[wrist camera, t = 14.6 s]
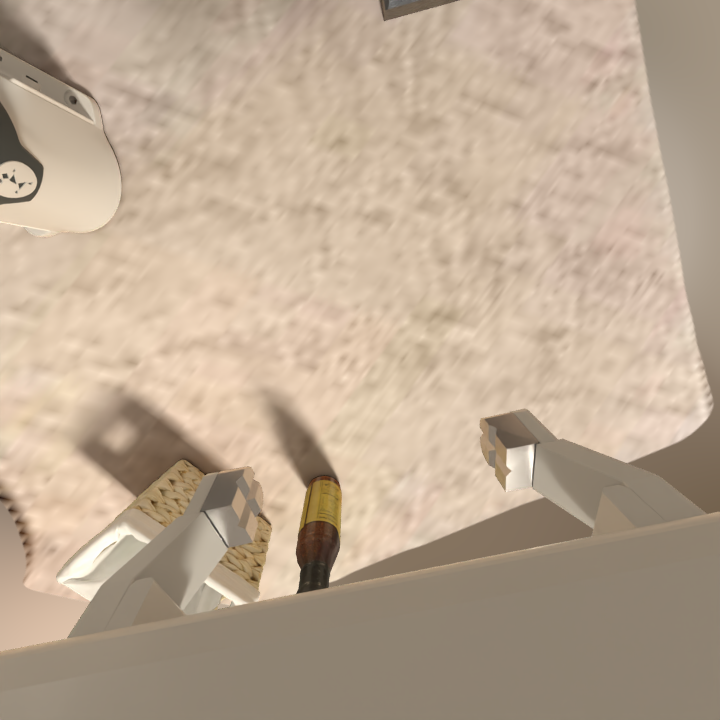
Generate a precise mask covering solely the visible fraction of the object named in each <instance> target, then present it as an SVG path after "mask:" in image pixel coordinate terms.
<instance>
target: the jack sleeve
mask: <svg viewBox="0 0 720 720" xmlns="http://www.w3.org/2000/svg"><path fill="white" fill-rule="evenodd" d="M455 1H458V0H381V3H382V10H383V17H384V21H386V20H389V19H393V18H397V17H400V16H404V15H408V14H411V13H415V12H418V11H422V10H426V9H429V8H433V7H437V6H440V5H444V4H447V3H451V2H455Z"/></svg>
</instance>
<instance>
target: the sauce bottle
mask: <svg viewBox="0 0 720 720" xmlns="http://www.w3.org/2000/svg"><path fill="white" fill-rule="evenodd" d="M341 500H342V493H341V489H340V485H339V483H338V482H337V481H336V480H335V479H334V478H332V477H329V476H325V475H324V476H320V477H317V478H315V479H313V480H312V481H311V482H310V484H309V487H308V489H307V492H306V496H305V502H304V507H303V512H302V518H301V523H300V528H299V533H298V542H297V547H296V556H297V563H298V564H299V566H300V568H301V572H300V582H299V589H298V591H297V593H296V594H299V593H304V592H309V591H314V590H320V589H325V588H328V587H329V577H330V571H331V569H332V567H333V564H334V562H335V560H336V557H337V555H338V552H339V549H340V528H341Z"/></svg>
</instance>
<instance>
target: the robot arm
mask: <svg viewBox="0 0 720 720" xmlns="http://www.w3.org/2000/svg"><path fill="white" fill-rule="evenodd" d="M76 99H77V103H76V104H75V100H76ZM121 189H122V184H121V174H120V169H119V166H118V162H117V159H116V157H115V154H114V152H113V150H112V148H111V146H110V144H109V142H108V140H107V138H106V136H105V134H104V131H103V124H102V118H101V113H100V109H99V107H98V104H97V103H96V101H95V100H94V99H93V98H91V97H90V96H88V95H86V94H84V93H82V92H80V91H78V90H77V89H75V88H73V87H71V86H69V85H67V84H66V83H64V82H62V81H60V80H58V79H56V78H54V77H53V76H51V75H49V74H47V73H45V72H43V71H42V70H40V69H38V68H36V67H34V66H32V65H30V64H29V63H27V62H25V61H23V60H21V59H19V58H17V57H16V56H14V55H12V54H10V53H8V52H6V51H5V50H3V49H1V48H0V222H1V223H6V224H12V225H17V226H22V227H23V228H24V229H25V230H26V231H28V232H29V233H30V234H32V235H34V236H38V237H43V238H46V237H50V236H53V235H55V234H58V233H60V232H73V233H85V232H90V231H94V230H97V229H99V228H101V227H102V226H104V225H105V224H106V223H107V222H108V221H109V220H110V219H111V218H112V217H113V215H114V214H115V212H116V210H117V208H118V205H119V202H120V198H121ZM480 429H481V430H482V432H483V434H482V436H481V437H480V444H481V449H482V453H483V455H484V457H485V459H486V461H487V463H488V464H489V465H490V466H492V467H493V468H495V476H496V477H497V479H498V481H499V482H500V484H501V485H502V487H503V488H504V490H505V492H508V491H514V490H520V489H526V488H532V487H533V489H534V490H535V491H537V492H538V493H540V494H541V495H543V496H544V497H546V498H547V499H549V500H550V501H552V502H554V503H555V504H557V505H558V506H560V507H561V508H563V509H564V510H566V511H567V512H569V513H570V514H572V515H573V516H575V517H576V518H578V519H579V520H581V521H582V522H584V523H585V524H587V525H588V526H590V527H591V528H593V533H592V537H587V538H582V539H576V540H572V541H566V542H561V543H556V544H551V545H545V546H541V547H535V548H530V549H525V550H520V551H515V552H509V553H505V554H499V555H494V556H490V557H484V558H479V559H474V560H469V561H464V562H458V563H453V564H448V565H443V566H438V567H433V568H428V569H423V570H418V571H413V572H407V573H402V574H397V575H392V576H387V577H382V578H377V579H371V580H366V581H361V582H356V583H351V584H346V585H340V586H336V587H330V588H325V589H320V590H314V591H309V592H304V593H299V594H294V595H289V596H284V597H278V598H273V599H268V600H263V601H258V602H253V603H248V604H242V605H237V606H232V607H227V608H222V609H217V610H212V611H206V612H201V613H196V614H191V615H186V614H185V613H184V612H183V610H184V609H185V607H186V606H187V605H188V603H189V602H190V600H191V599H192V598H193V596H194V595H195V594H196V592H197V591H198V590H199V588H200V587H201V586H202V584H203V583H204V581H205V580H206V579H207V577H208V576H209V575H210V573H211V572H212V571H213V569H214V568H215V567H216V565H217V564H218V562H219V561H220V560H221V558H222V557H223V556H224V554H225V553H226V552H227V550H228V548H230V547H235V546H239V545H243V544H248V543H252V542H253V541H254V537H255V533H256V529H257V526H258V522H257V520H256V516H257V515H258V514H259V513H260V512H261V510H262V506H263V491H262V487H261V485H260V483H259V482H257V481H255V480H254V479H253V478H254V475H255V473H254V471H253V470H252V468H251V467H249V466H247V467H241V468H236V469H230V470H224V471H221V472H215V473H209V474H206V475H205V476H204V477H203V478H202V480H201V482H200V484H199V486H198V488H197V490H196V491H195V493H194V495H193V497H192V499H191V501H190V503H189V505H188V507H187V509H186V510H185V512H184V514H183V516H180V517H177V518H176V519H175V520H174V521H173V522H172V523H171V524H170V525H168V526H167V527H166V528H165V529H164V530H163V531H162V532H161V533H159V534H158V535H157V536H156V537H155V538H154V539H153V540H152V541H150V542H149V543H148V544H147V545H146V546H145V547H144V548H143V549H141V550H140V551H139V552H138V553H137V554H136V555H135V556H134V557H132V558H131V559H130V560H129V561H128V562H127V563H126V564H125V565H123V566H122V567H121V568H120V569H119V570H118V571H117V572H116V573H115V574H113V575H112V576H111V577H110V578H109V579H108V580H107V581H106V582H104V583H103V584H102V585H101V586H100V588H99V589H98V591H97V593H96V594H95V596H94V597H93V599H92V600H91V602H90V603H89V605H88V606H87V608H86V610H85V611H84V613H83V614H82V616H81V617H80V619H79V620H78V622H77V623H76V625H75V627H74V628H73V630H72V631H71V633H70V634H69V636H68V637H67V639H62V640H58V641H52V642H47V643H42V644H37V645H32V646H27V647H21V648H16V649H11V650H6V651H1V652H0V720H720V512H716V513H710V514H706V513H705V512H704V511H702V510H701V509H700V508H699V507H697V506H696V505H695V504H694V503H692V502H691V501H690V500H688V499H687V498H686V497H685V496H684V495H682V494H681V493H680V492H679V491H677V490H676V489H675V488H674V487H672V486H671V485H670V484H669V483H667V482H666V481H665V480H663V479H662V478H661V477H660V476H658V475H656V474H653V473H651V472H648V471H645V470H643V469H640V468H638V467H635V466H632V465H630V464H627V463H625V462H622V461H619V460H617V459H614V458H612V457H609V456H606V455H604V454H601V453H598V452H596V451H593V450H591V449H588V448H585V447H583V446H580V445H578V444H575V443H572V442H570V441H567V440H565V439H560V440H558V439H557V438H556V437H555V436H554V435H553V434H552V433H551V432H550V431H549V430H548V429H547V428H546V427H545V426H544V425H543V424H542V423H541V422H540V421H539V420H538V419H537V418H536V417H535V416H534V415H533V414H532V413H530V412H529V411H528V410H527V409H521V410H516V411H512V412H510V413H504V414H499V415H494V416H490V417H485V418H481V420H480Z"/></svg>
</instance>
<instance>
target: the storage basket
mask: <svg viewBox="0 0 720 720" xmlns="http://www.w3.org/2000/svg"><path fill="white" fill-rule="evenodd" d="M204 476H205V475H204V474H203V473H202V472H201V471H199V470H198V468H196V467H194V466H193V465H192V464H190V463H189V462H188V461H186V460H180V461H178V462H177V463H176V464H175V465H174V466H173V467H171V468H170V469H169V470H168V471H167V472H165V473H164V474H163V475H162V476H161V477H160V478H159V479H157V480H156V481H155V482H153V483H152V484H151V486H150V487H149V488H147V489H146V490H145V491H144V492H143V493H142V494H140V495H139V496H138V497H137V499H136V500H135V501H133V502H132V504H131V505H130V506H128V507H127V509H125V510H124V511H123V512H122V513H121V514H119V515H118V516H117V517H116V518H115V520H114V521H113V522H112V523H110V524H109V525H108V526H107V527H106V528H105V529H104V530H102V531H101V532H100V533H99V534H97V535H96V536H95V537H93V538H92V539H91V540H90V541H89V542H88V543H86V544H85V545H84V546H82V547H81V548H80V549H79V550H78V551H77V552H76V553H75V554H74V555H73V556H72V557H71V558H70V559H69V560H68V561H67V562H66V563H65V564H64V566H63V567H62V568H61V570H60V571H59V572H58V573H57V576H56V579H57V582H59V583H60V584H63V585H65V586H66V587H68V588H70V589H71V590H73V591H74V592H76V593H77V594H79V595H81V596H82V597H84V598H86V599H87V600H89V601H91V600H92V599H93V597H94V596H95V594H96V593H97V591H98V589H99V588H100V586H101V585H102V584H103V583H104V582H106V581H107V580H108V579H109V578H110V577H111V576H112V575H113V574H115V573H116V572H117V571H118V570H119V569H120V568H121V567H122V566H123V565H125V564H126V563H127V562H128V561H129V560H130V559H131V558H132V557H134V556H135V555H136V554H137V553H138V552H139V551H140V550H141V549H143V548H144V547H145V546H146V545H147V544H148V543H149V542H150V541H152V540H153V539H154V538H155V537H156V536H157V535H158V534H159V533H161V532H162V531H163V530H164V529H165V528H166V527H167V526H168V525H170V524H171V523H172V522H173V521H174V520H175V519H176V518H177V517H180V516H183V514H184V512H185V510H186V509H187V507H188V505H189V503H190V501H191V499H192V497H193V495H194V493H195V491H196V490H197V488H198V486H199V484H200V482H201V480H202V478H203V477H204ZM256 520H257V522H258V526H257V529H256V533H255V537H254V541H253V542H252V543H248V544H243V545H239V546H235V547H230V548H228V550H227V552H226V553H225V554H224V556H223V557H222V558H221V560H220V561H219V562H218V564H217V565H216V567H215V568H214V569H213V571H212V572H211V573H210V575H209V576H208V577H207V579H206V580H205V581H204V583H203V584H202V586H201V587H200V588H199V590H198V591H197V592H196V594H195V595H194V596H193V598H192V599H191V600H190V602H189V603H188V605H187V606H186V607H185V609H184V610H183V612H184V613H185V614H186V615H191V614H196V613H201V612H206V611H212V610H217V607H218V605H219V604H220V602H221V601H222V600H223V599H225V598H226V597H227V598H228V599H230V600H231V601H232V602H231V604H230V607H232V606H237V605H242V604H248V603H253V602H258V600H259V596H260V592H259V591H258V587H259V582H260V579H261V574H262V571H263V566H264V565H265V561H266V553H267V551H268V543H269V541H270V536H271V532H272V527H271V526H270V525H269V524H268V523H267V522H266V521H264V520H263V519H262V518H261V517H259V516H258V515H257V516H256Z"/></svg>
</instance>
